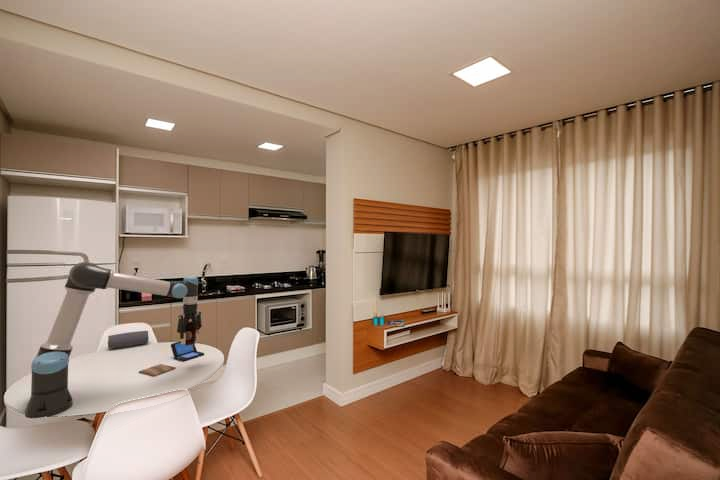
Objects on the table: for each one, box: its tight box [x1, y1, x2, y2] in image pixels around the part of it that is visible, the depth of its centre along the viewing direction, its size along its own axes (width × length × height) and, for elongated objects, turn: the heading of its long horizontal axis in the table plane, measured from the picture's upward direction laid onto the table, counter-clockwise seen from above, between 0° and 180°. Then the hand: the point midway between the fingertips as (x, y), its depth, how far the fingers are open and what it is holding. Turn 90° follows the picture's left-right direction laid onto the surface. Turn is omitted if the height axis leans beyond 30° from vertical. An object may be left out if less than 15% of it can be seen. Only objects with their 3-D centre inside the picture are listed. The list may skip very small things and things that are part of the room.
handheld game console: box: [170, 341, 205, 362], centre depth 213 cm, size 16×13×9 cm
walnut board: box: [138, 363, 177, 378], centre depth 189 cm, size 13×13×1 cm
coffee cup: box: [184, 320, 198, 345], centre depth 194 cm, size 9×8×13 cm
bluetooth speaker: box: [107, 330, 150, 349], centre depth 232 cm, size 23×9×10 cm, turn 130°
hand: (189, 342), depth 194 cm, fingers closed on coffee cup, 7 cm apart
